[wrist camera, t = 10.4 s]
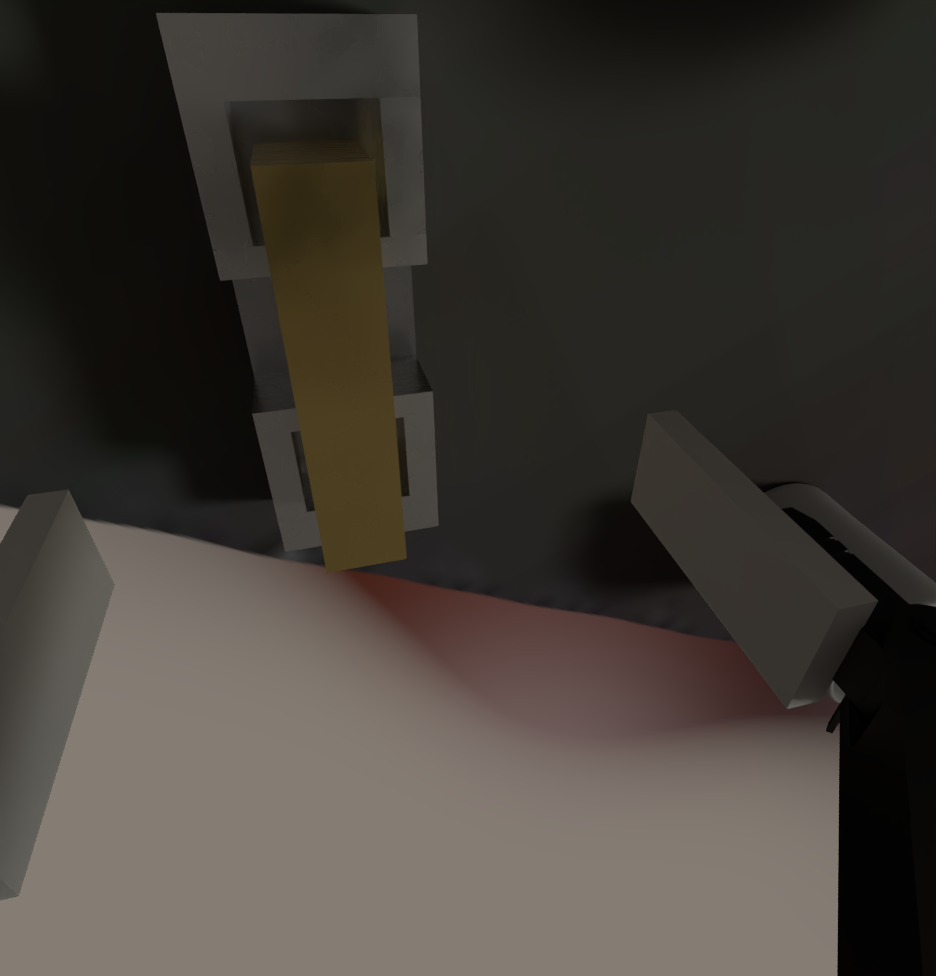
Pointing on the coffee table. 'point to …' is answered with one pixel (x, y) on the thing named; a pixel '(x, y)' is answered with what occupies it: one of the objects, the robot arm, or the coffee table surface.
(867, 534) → the mug
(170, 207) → the coffee table surface
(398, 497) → the yellow rectangular block
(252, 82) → the bracket
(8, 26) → the coffee table surface
